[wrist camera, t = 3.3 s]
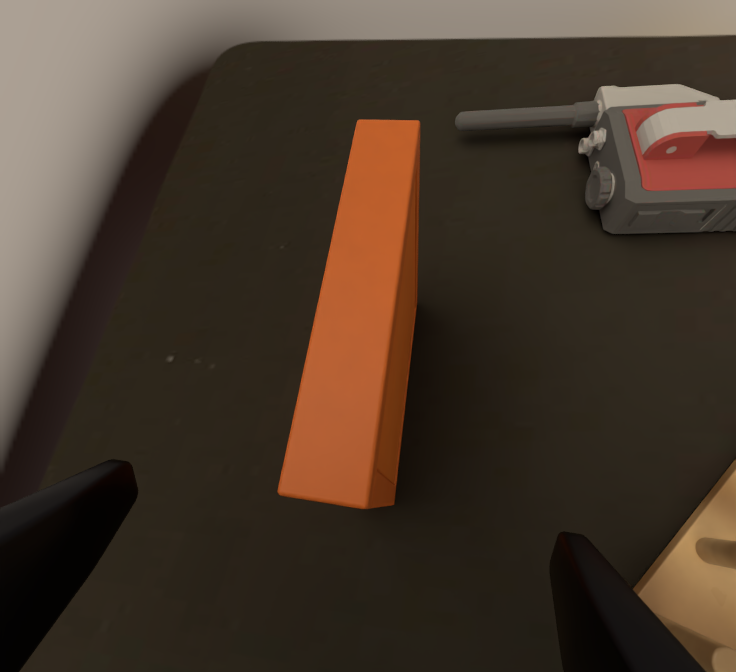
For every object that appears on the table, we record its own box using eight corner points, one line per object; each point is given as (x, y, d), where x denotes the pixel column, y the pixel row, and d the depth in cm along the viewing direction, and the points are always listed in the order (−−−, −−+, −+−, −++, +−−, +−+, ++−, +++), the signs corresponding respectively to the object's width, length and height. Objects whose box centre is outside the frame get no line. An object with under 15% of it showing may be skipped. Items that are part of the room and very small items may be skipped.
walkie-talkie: (803, 108, 23) (452, 127, 26) (886, 25, 19) (459, 57, 22) (867, 234, 20) (457, 243, 22) (983, 166, 16) (467, 185, 18)
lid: (394, 505, 18) (367, 510, 7) (354, 499, 18) (275, 495, 8) (417, 302, 21) (420, 119, 11) (383, 299, 21) (357, 118, 11)
